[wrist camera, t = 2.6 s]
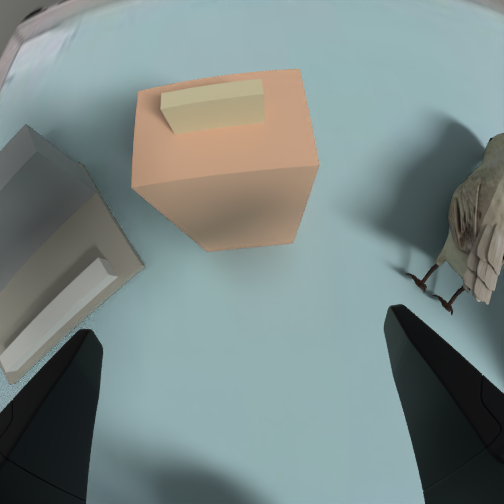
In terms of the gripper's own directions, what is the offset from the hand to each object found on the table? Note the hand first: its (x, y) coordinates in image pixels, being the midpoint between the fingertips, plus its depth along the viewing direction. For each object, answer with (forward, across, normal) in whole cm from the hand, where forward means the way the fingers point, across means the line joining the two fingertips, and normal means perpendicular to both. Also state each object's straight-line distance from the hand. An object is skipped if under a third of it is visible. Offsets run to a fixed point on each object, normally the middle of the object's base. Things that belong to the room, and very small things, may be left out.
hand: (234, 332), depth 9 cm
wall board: (+11, +18, +7) cm, 22 cm away
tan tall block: (+14, 0, +4) cm, 15 cm away
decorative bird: (+13, -17, +6) cm, 23 cm away
